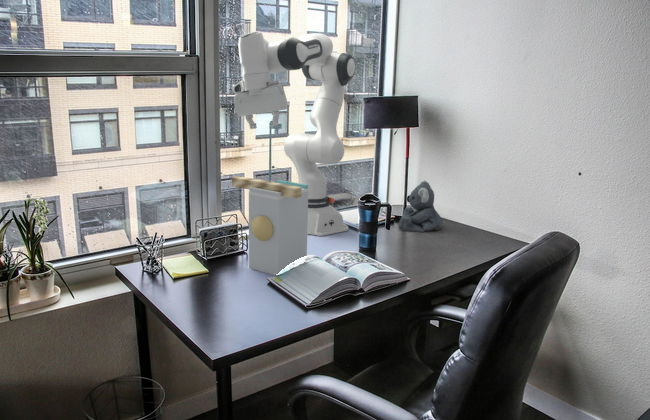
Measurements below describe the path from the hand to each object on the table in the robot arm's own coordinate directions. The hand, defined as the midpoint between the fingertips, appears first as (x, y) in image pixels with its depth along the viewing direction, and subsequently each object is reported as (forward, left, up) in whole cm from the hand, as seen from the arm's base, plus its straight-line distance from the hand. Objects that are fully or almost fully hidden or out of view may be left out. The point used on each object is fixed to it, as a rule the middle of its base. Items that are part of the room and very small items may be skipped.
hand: (263, 127), depth 176 cm
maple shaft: (+3, +8, -19) cm, 21 cm away
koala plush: (-75, -10, -46) cm, 89 cm away
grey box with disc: (-2, +8, -45) cm, 46 cm away
